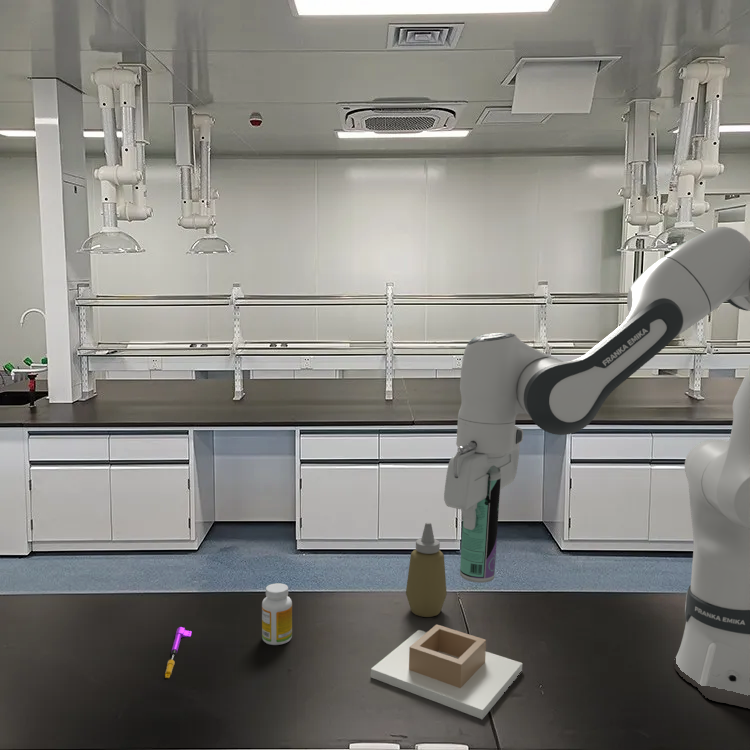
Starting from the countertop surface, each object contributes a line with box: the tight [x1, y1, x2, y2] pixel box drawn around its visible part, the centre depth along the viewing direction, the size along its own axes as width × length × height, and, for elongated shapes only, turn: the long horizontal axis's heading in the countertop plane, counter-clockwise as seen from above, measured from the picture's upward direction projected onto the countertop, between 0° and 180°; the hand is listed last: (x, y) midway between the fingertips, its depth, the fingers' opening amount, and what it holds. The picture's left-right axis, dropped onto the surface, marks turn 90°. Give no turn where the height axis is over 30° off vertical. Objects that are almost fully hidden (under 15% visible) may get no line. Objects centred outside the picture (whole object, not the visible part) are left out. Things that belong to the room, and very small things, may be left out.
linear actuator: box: [164, 626, 192, 679], centre depth 124 cm, size 3×1×16 cm
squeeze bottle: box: [405, 522, 448, 618], centre depth 140 cm, size 8×8×18 cm
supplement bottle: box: [261, 582, 293, 646], centre depth 129 cm, size 5×5×10 cm
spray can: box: [459, 465, 501, 584], centre depth 113 cm, size 6×6×20 cm
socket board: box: [370, 624, 523, 720], centre depth 119 cm, size 20×16×6 cm
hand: (479, 522), depth 113 cm, fingers closed on spray can, 5 cm apart
